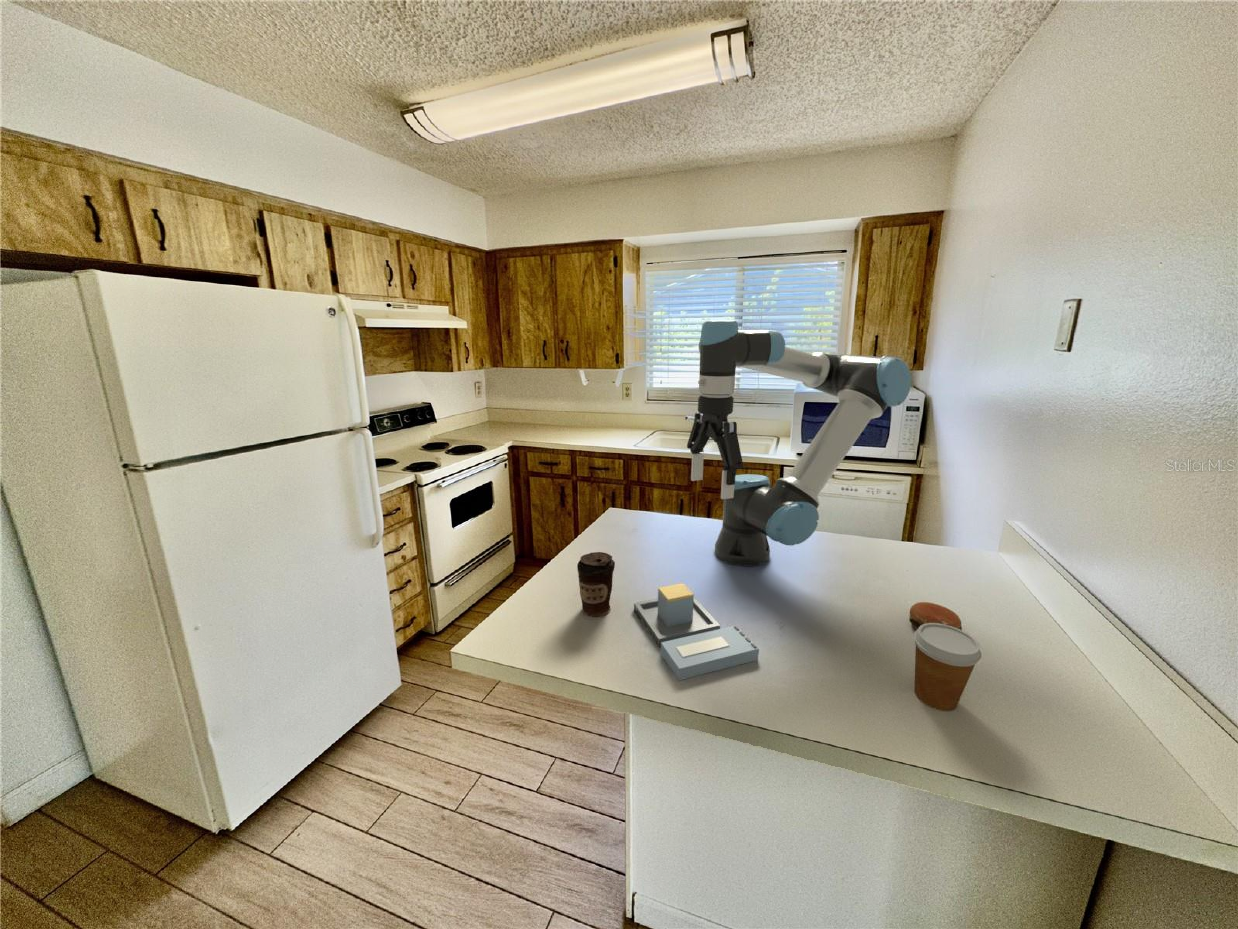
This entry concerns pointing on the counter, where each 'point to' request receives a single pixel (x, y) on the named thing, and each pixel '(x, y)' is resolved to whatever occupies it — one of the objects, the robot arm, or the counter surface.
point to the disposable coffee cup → (943, 664)
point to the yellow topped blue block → (675, 604)
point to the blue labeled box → (708, 652)
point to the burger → (933, 615)
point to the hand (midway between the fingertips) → (711, 488)
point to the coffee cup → (595, 582)
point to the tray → (663, 633)
